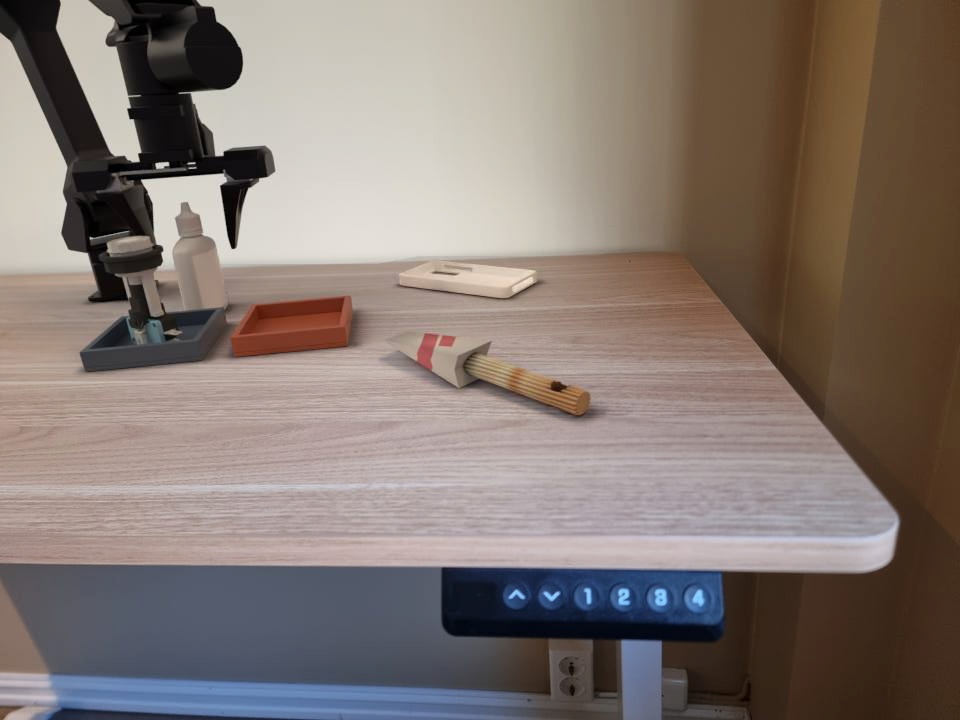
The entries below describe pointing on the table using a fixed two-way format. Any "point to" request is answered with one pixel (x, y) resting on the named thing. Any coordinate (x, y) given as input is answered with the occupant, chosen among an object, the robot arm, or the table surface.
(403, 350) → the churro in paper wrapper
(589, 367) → the table surface
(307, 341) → the terracotta tray
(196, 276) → the eye dropper bottle
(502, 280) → the phone case
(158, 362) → the slate tray
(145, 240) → the push button
